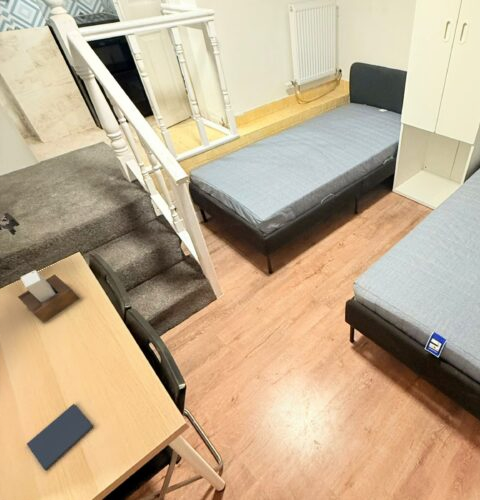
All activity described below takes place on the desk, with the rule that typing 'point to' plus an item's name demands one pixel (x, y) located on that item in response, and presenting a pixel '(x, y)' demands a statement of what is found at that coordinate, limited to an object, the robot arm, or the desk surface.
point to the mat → (59, 436)
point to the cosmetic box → (38, 286)
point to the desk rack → (50, 300)
